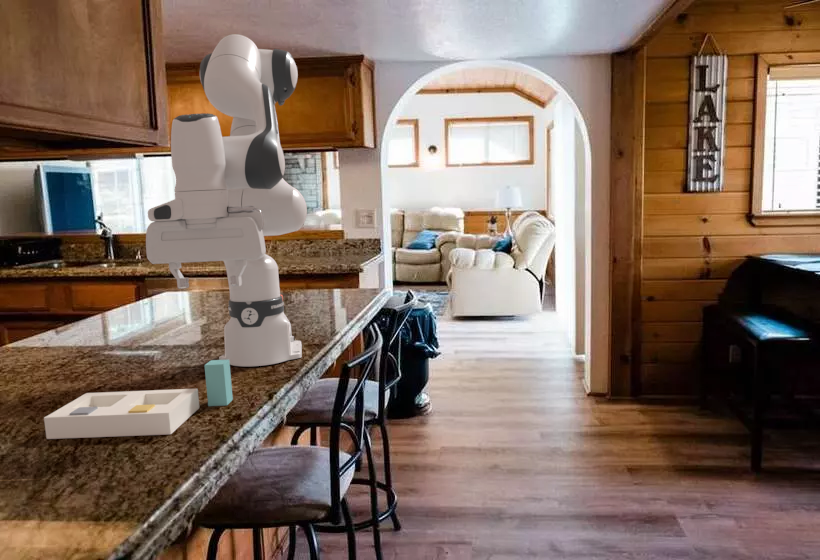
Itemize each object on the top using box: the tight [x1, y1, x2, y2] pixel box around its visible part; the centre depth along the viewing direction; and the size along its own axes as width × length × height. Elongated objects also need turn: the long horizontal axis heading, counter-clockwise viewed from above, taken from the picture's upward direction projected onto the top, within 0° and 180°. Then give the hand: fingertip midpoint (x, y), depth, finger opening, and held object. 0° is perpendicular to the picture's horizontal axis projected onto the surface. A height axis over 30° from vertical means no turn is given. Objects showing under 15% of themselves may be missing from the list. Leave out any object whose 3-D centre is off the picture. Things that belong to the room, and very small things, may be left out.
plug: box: [203, 359, 234, 407], centre depth 119 cm, size 3×3×8 cm
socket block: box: [43, 388, 200, 440], centre depth 111 cm, size 13×20×4 cm, turn 88°
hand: (210, 287), depth 117 cm, fingers open, 8 cm apart
